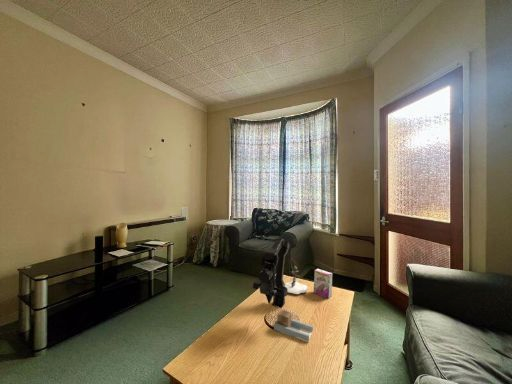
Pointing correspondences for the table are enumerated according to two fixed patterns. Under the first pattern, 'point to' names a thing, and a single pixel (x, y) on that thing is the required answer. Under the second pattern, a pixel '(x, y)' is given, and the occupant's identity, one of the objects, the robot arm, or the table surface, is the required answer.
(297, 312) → the table surface
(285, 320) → the walnut block
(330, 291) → the candy bar box
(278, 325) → the chute
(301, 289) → the figurine
